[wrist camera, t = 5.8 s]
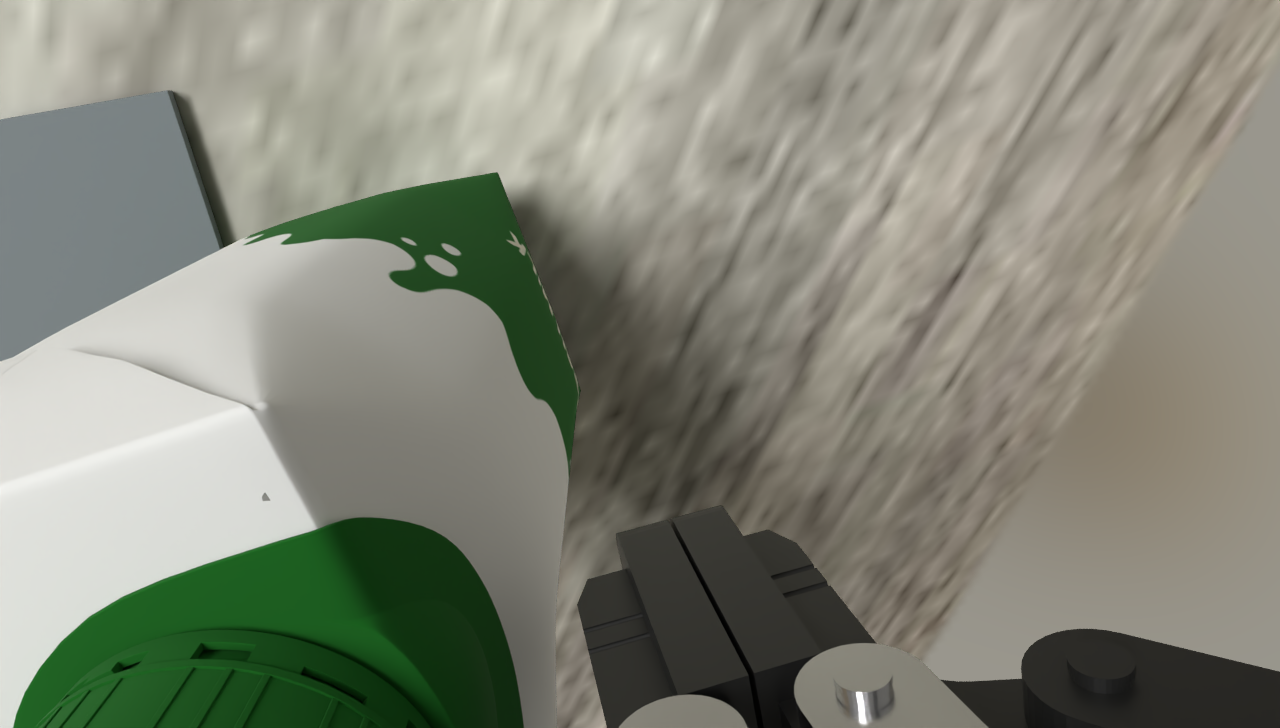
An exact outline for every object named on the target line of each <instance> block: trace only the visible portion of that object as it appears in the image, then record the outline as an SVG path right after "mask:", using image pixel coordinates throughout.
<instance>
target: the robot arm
mask: <svg viewBox="0 0 1280 728" xmlns="http://www.w3.org/2000/svg"><path fill="white" fill-rule="evenodd" d="M616 540H617V545H618V550H619V555H620V559H621V564H622V568H623V570H620V571H617V572H613V573H609V574H606V575H602V576H599V577H595V578H591V579H588V580H587V582H586V585H585V587H584V590H583V592H582V595H581V597H580V599H579V602H578V604H577V605H578V609H579V614H580V618H581V622H582V626H583V630H584V634H585V638H586V642H587V646H588V651H589V655H590V659H591V663H592V667H593V671H594V675H595V679H596V684H597V688H598V692H599V696H600V700H601V704H602V708H603V712H604V716H605V721H606V725H607V728H1280V672H1279V671H1274V670H1270V669H1266V668H1262V667H1258V666H1253V665H1250V664H1245V663H1241V662H1237V661H1233V660H1229V659H1225V658H1220V657H1217V656H1212V655H1208V654H1204V653H1200V652H1196V651H1192V650H1188V649H1184V648H1179V647H1175V646H1171V645H1167V644H1163V643H1159V642H1155V641H1151V640H1146V639H1142V638H1138V637H1134V636H1130V635H1126V634H1122V633H1117V632H1112V631H1107V630H1097V629H1074V630H1066V631H1061V632H1056V633H1053V634H1051V635H1048V636H1045V637H1044V638H1042V639H1040V640H1038V641H1036V642H1035V643H1034V644H1033V645H1031V646H1030V647H1029V649H1028V650H1027V651H1026V653H1025V654H1024V657H1023V659H1022V666H1021V670H1022V679H1010V680H993V681H974V682H956V681H944V680H940V679H939V678H938V677H937V676H936V675H935V674H934V673H933V672H932V671H931V670H930V669H929V668H928V667H927V666H926V665H925V664H924V663H922V662H921V661H920V660H919V659H918V658H916V657H914V656H913V655H911V654H909V653H908V652H905V651H903V650H900V649H898V648H895V647H891V646H887V645H881V644H876V643H875V641H874V640H873V639H872V637H871V636H870V635H869V634H868V632H867V631H866V630H865V629H864V627H863V626H862V625H861V624H860V622H859V621H858V620H857V619H856V617H855V616H854V615H853V614H852V612H851V611H850V610H849V609H848V607H847V606H846V605H845V604H844V602H843V601H842V600H841V598H840V597H839V596H838V595H837V593H836V592H835V591H834V590H833V588H832V587H831V586H828V584H827V581H826V580H825V578H824V577H823V576H822V575H821V573H820V572H819V571H818V570H817V568H815V569H814V566H813V563H812V562H811V561H810V559H809V558H808V557H807V556H806V554H805V553H804V552H803V551H802V549H801V548H800V547H799V546H798V544H797V543H795V542H793V541H791V540H789V539H787V538H785V537H782V536H780V535H778V534H776V533H774V532H772V531H770V530H765V531H761V532H758V533H754V534H750V535H747V536H743V535H742V534H741V532H740V531H739V529H738V528H737V526H736V525H735V524H734V522H733V521H732V519H731V518H730V516H729V515H728V513H727V512H726V510H725V509H724V508H723V506H716V507H712V508H709V509H705V510H701V511H698V512H694V513H690V514H686V515H683V516H679V517H675V518H672V519H670V523H669V522H668V520H665V521H661V522H657V523H654V524H650V525H646V526H643V527H639V528H635V529H631V530H628V531H624V532H620V533H617V534H616Z"/></svg>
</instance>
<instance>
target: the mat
mask: <svg viewBox="0 0 1280 728" xmlns="http://www.w3.org/2000/svg"><path fill="white" fill-rule="evenodd" d="M223 248H224V246H223V243H222V240H221V237H220V234H219V231H218V228H217V225H216V222H215V219H214V216H213V213H212V210H211V207H210V204H209V201H208V198H207V195H206V192H205V189H204V186H203V183H202V180H201V177H200V174H199V171H198V168H197V165H196V162H195V159H194V156H193V153H192V150H191V147H190V143H189V140H188V137H187V134H186V131H185V128H184V125H183V122H182V119H181V116H180V113H179V110H178V107H177V104H176V101H175V98H174V95H173V92H172V91H162V92H156V93H150V94H145V95H139V96H133V97H127V98H122V99H116V100H110V101H104V102H99V103H93V104H87V105H81V106H76V107H70V108H64V109H58V110H53V111H47V112H41V113H35V114H30V115H24V116H18V117H12V118H7V119H1V120H0V361H3V360H6V359H9V358H12V357H14V356H16V355H18V354H20V353H21V352H23V351H25V350H27V349H28V348H30V347H32V346H34V345H35V344H37V343H39V342H41V341H42V340H44V339H46V338H48V337H49V336H51V335H53V334H55V333H57V332H59V331H61V330H62V329H64V328H66V327H68V326H70V325H72V324H74V323H76V322H78V321H80V320H82V319H84V318H86V317H88V316H90V315H92V314H94V313H96V312H98V311H100V310H102V309H104V308H105V307H107V306H109V305H111V304H113V303H115V302H117V301H119V300H121V299H123V298H125V297H127V296H129V295H131V294H133V293H135V292H137V291H139V290H141V289H143V288H145V287H147V286H149V285H151V284H153V283H155V282H157V281H159V280H161V279H163V278H165V277H167V276H169V275H171V274H173V273H175V272H177V271H179V270H181V269H183V268H185V267H187V266H189V265H191V264H193V263H195V262H197V261H199V260H201V259H203V258H205V257H207V256H209V255H211V254H213V253H215V252H217V251H219V250H221V249H223Z"/></svg>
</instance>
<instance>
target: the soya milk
mask: <svg viewBox="0 0 1280 728" xmlns="http://www.w3.org/2000/svg"><path fill="white" fill-rule="evenodd" d="M580 391H581V390H580V387H579V384H578V380H577V377H576V374H575V371H574V369H573V366H572V363H571V360H570V357H569V354H568V352H567V349H566V346H565V343H564V340H563V337H562V335H561V332H560V329H559V326H558V324H557V321H556V318H555V315H554V313H553V310H552V308H551V305H550V303H549V300H548V298H547V295H546V293H545V290H544V288H543V285H542V283H541V280H540V278H539V276H538V273H537V271H536V268H535V266H534V263H533V261H532V258H531V256H530V253H529V251H528V248H527V246H526V243H525V240H524V238H523V235H522V233H521V230H520V228H519V225H518V223H517V220H516V218H515V215H514V213H513V210H512V208H511V205H510V203H509V200H508V197H507V195H506V192H505V190H504V187H503V185H502V182H501V180H500V177H499V175H498V173H497V172H496V173H490V174H485V175H479V176H473V177H467V178H461V179H455V180H449V181H443V182H437V183H431V184H425V185H420V186H415V187H411V188H406V189H401V190H396V191H392V192H387V193H383V194H379V195H375V196H372V197H368V198H365V199H361V200H358V201H354V202H351V203H347V204H344V205H340V206H337V207H333V208H330V209H327V210H324V211H320V212H317V213H314V214H311V215H308V216H304V217H301V218H298V219H295V220H292V221H289V222H286V223H283V224H280V225H277V226H274V227H272V228H269V229H266V230H263V231H261V232H258V233H255V234H253V235H250V236H248V237H245V238H243V239H241V240H239V241H237V242H235V243H233V244H231V245H229V246H227V247H225V248H223V249H221V250H219V251H217V252H215V253H213V254H211V255H209V256H207V257H205V258H203V259H201V260H199V261H197V262H195V263H193V264H191V265H189V266H187V267H185V268H183V269H181V270H179V271H177V272H175V273H173V274H171V275H169V276H167V277H165V278H163V279H161V280H159V281H157V282H155V283H153V284H151V285H149V286H147V287H145V288H143V289H141V290H139V291H137V292H135V293H133V294H131V295H129V296H127V297H125V298H123V299H121V300H119V301H117V302H115V303H113V304H111V305H109V306H107V307H105V308H104V309H102V310H100V311H98V312H96V313H94V314H92V315H90V316H88V317H86V318H84V319H82V320H80V321H78V322H76V323H74V324H72V325H70V326H68V327H66V328H64V329H62V330H61V331H59V332H57V333H55V334H53V335H51V336H49V337H48V338H46V339H44V340H42V341H41V342H39V343H37V344H35V345H34V346H32V347H30V348H28V349H27V350H25V351H23V352H21V353H20V354H18V355H16V356H14V357H12V358H9V359H6V360H3V361H0V728H557V709H556V635H555V632H556V601H557V591H558V580H559V570H560V561H561V551H562V542H563V532H564V522H565V513H566V503H567V494H568V484H569V475H570V466H571V456H572V447H573V437H574V428H575V419H576V411H577V406H578V401H579V396H580Z"/></svg>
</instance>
